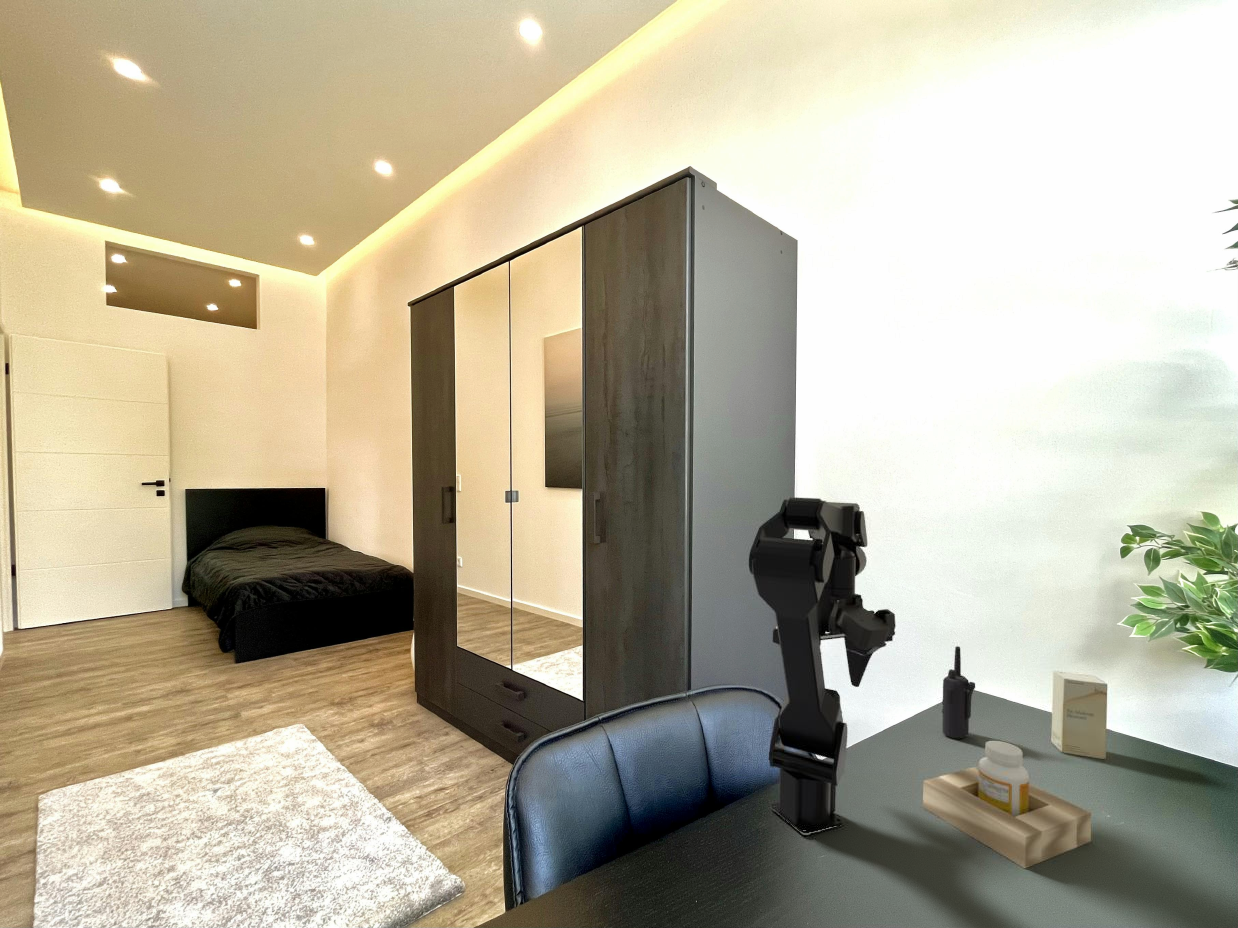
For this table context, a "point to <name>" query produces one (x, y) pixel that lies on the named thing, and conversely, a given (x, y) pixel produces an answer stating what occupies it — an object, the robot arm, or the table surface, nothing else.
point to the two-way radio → (956, 701)
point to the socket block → (1008, 819)
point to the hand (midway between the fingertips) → (832, 689)
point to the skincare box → (1079, 714)
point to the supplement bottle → (1004, 778)
